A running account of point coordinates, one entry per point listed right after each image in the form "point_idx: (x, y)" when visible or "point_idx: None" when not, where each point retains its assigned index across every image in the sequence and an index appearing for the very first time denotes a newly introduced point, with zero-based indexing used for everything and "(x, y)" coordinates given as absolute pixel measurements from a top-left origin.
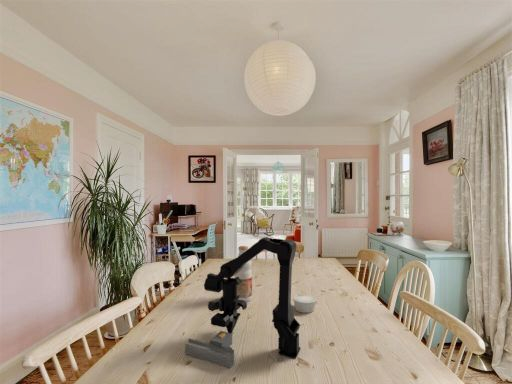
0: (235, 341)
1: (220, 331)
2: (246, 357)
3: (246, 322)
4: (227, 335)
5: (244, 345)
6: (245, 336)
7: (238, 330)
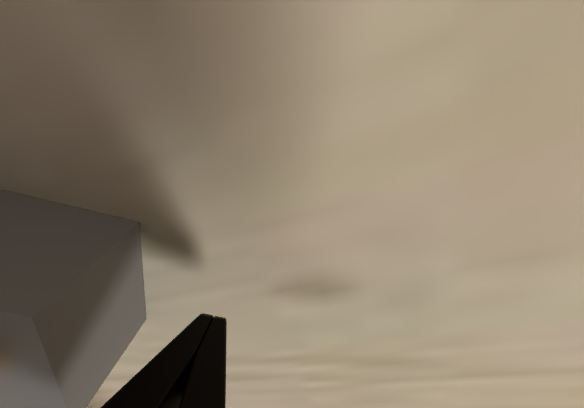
0: None
1: (8, 316)
2: None
3: (577, 370)
4: (3, 397)
5: None
6: (289, 380)
7: (387, 329)
